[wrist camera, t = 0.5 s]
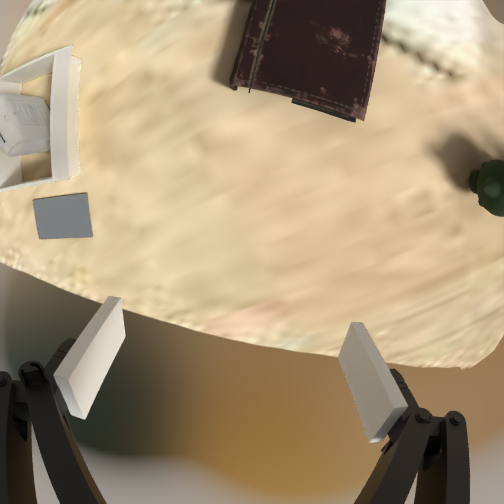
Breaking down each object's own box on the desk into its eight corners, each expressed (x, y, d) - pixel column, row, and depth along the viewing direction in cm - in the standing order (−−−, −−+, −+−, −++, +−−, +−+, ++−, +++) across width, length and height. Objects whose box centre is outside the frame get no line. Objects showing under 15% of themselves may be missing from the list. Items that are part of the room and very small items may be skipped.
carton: (12, 86, 30) (-13, 84, 24) (94, 55, 31) (71, 44, 24) (13, 186, 37) (-12, 195, 31) (93, 172, 38) (69, 179, 31)
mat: (34, 199, 38) (32, 200, 38) (87, 193, 39) (86, 193, 38) (40, 238, 41) (39, 239, 40) (93, 236, 41) (91, 237, 41)
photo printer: (28, 110, 33) (-21, 110, 21) (43, 93, 32) (-6, 88, 20) (49, 155, 36) (-1, 165, 24) (65, 138, 35) (15, 143, 24)
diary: (229, 90, 35) (226, 83, 30) (268, -38, 27) (270, -55, 22) (357, 124, 37) (371, 123, 32) (380, -4, 28) (393, -16, 23)
